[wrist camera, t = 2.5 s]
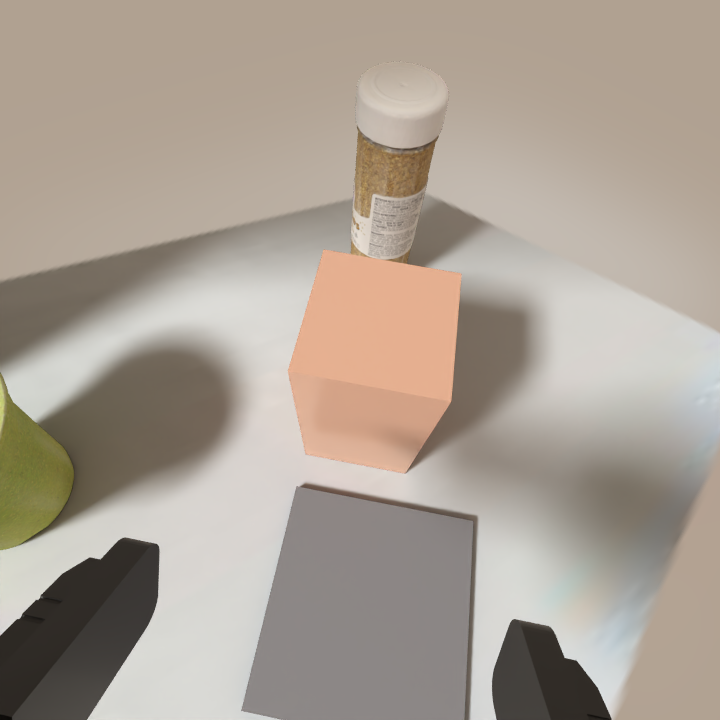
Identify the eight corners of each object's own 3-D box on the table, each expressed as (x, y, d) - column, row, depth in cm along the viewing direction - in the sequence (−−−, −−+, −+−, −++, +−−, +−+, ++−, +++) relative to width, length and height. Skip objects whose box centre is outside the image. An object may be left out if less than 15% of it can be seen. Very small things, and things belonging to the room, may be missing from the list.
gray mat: (243, 707, 19) (241, 710, 19) (297, 488, 24) (296, 486, 24) (459, 754, 19) (462, 758, 18) (470, 522, 24) (473, 520, 23)
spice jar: (348, 244, 33) (357, 54, 21) (406, 247, 33) (446, 59, 21) (347, 291, 31) (356, 108, 19) (409, 293, 31) (456, 114, 19)
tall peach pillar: (305, 454, 25) (287, 371, 15) (327, 366, 28) (323, 249, 18) (405, 473, 25) (451, 401, 15) (416, 382, 28) (461, 273, 18)
